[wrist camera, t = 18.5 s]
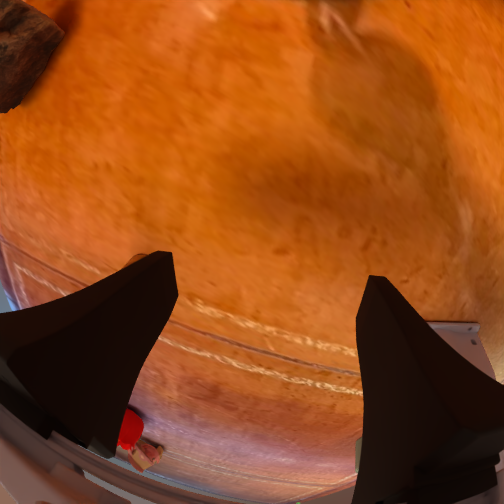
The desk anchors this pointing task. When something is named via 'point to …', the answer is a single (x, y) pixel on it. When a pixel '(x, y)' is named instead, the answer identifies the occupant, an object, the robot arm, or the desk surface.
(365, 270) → the desk surface
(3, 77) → the decorative rock
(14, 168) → the desk surface
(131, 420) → the flower
